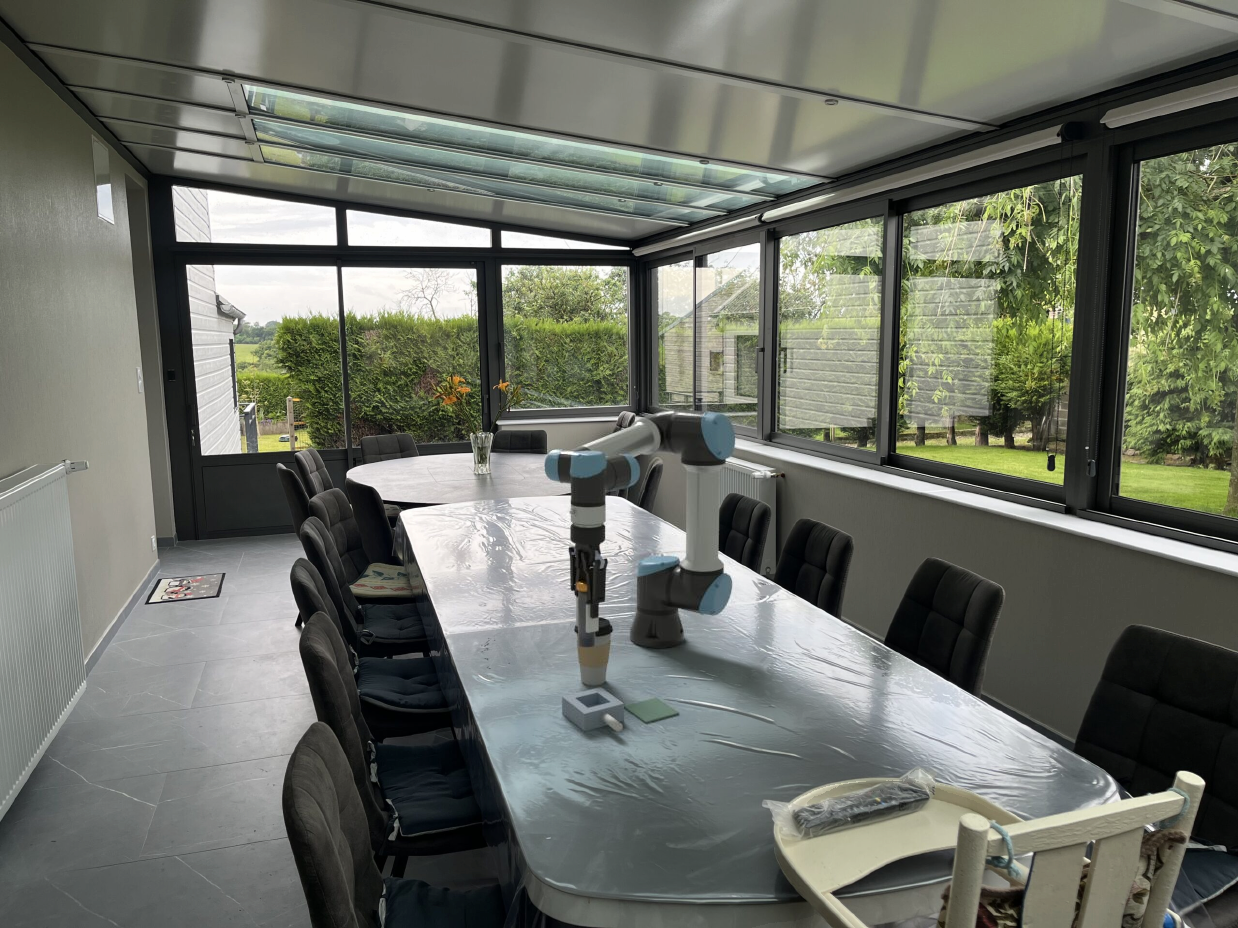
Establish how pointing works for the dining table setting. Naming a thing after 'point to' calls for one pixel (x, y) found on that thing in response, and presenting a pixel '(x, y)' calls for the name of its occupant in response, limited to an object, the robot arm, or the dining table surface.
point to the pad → (651, 710)
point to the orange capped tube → (583, 616)
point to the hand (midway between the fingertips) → (587, 627)
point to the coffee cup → (595, 655)
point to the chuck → (593, 709)
